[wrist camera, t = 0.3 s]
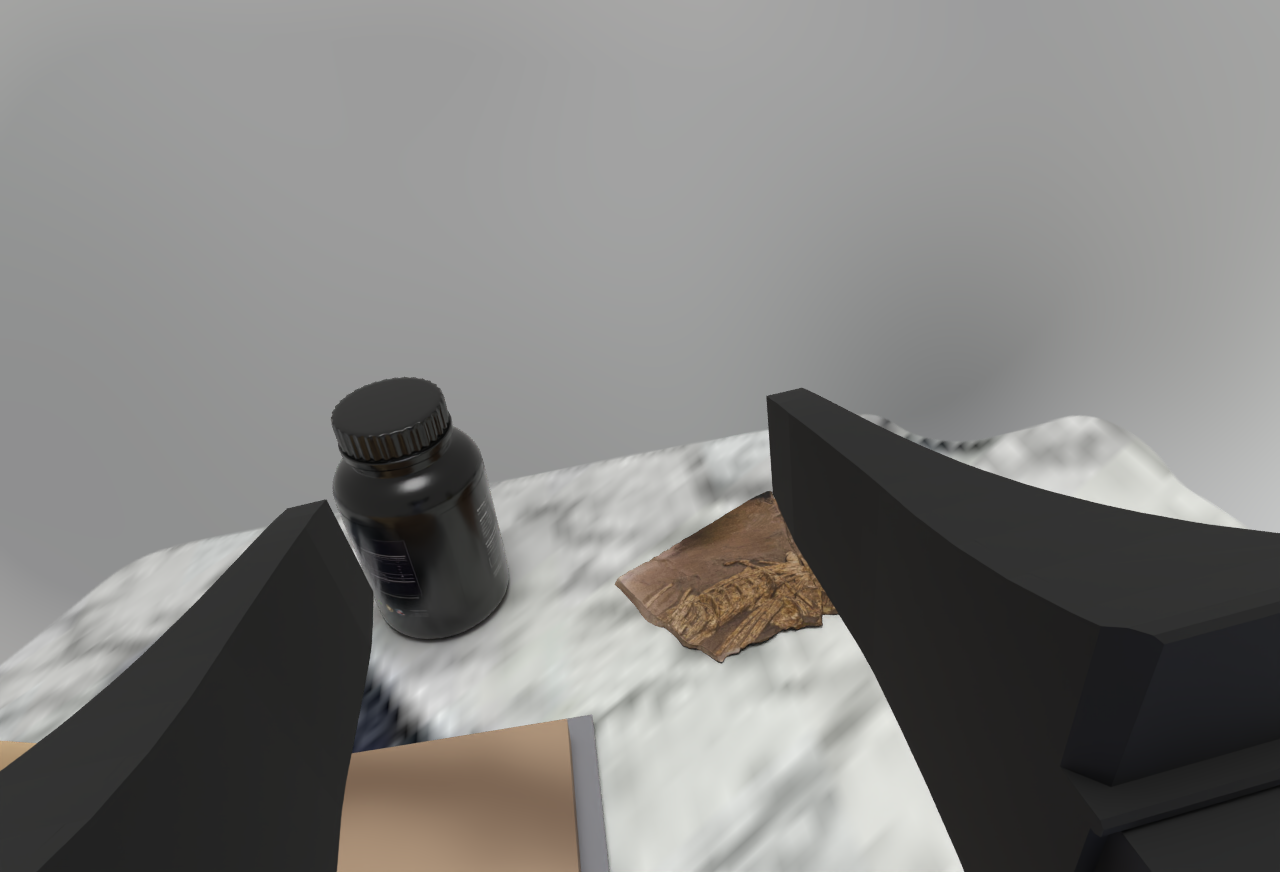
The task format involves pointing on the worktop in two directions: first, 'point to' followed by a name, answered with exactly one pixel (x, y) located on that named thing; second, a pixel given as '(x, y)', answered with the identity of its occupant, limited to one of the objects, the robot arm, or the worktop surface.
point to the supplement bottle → (418, 509)
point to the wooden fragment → (730, 583)
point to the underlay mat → (587, 796)
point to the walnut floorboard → (464, 805)
